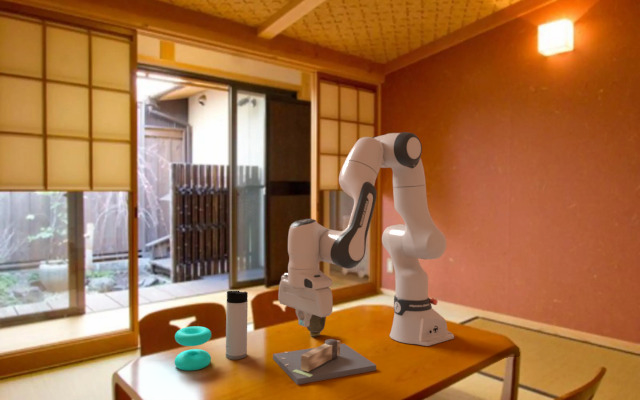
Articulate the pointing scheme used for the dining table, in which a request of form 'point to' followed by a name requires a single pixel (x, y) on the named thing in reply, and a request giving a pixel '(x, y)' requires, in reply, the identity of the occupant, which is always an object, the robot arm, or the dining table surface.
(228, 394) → the dining table surface
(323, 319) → the cup
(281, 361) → the dial board
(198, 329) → the donuts
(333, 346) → the long tan beam
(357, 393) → the dining table surface
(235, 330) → the travel mug
